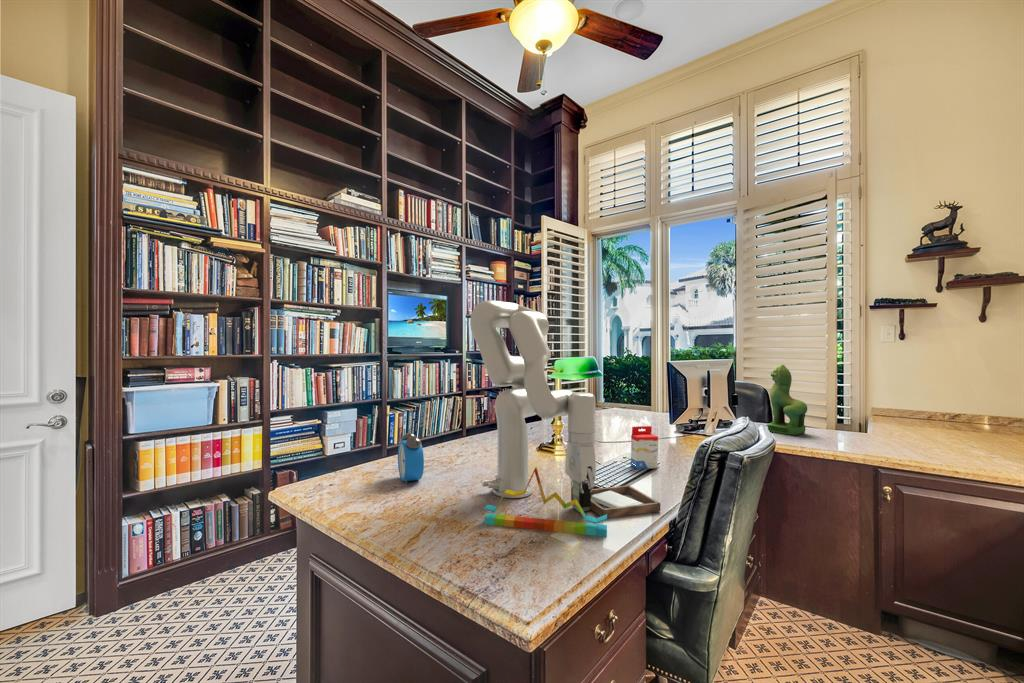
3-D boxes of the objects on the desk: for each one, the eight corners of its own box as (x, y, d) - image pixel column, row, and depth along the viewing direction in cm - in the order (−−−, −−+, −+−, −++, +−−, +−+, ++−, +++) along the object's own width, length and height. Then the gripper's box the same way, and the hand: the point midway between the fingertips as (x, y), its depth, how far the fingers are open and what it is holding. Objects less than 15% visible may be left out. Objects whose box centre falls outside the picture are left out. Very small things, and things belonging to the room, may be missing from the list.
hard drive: (591, 495, 131) (624, 508, 120) (610, 489, 135) (644, 502, 125) (591, 500, 131) (624, 514, 120) (610, 495, 135) (644, 508, 125)
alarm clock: (397, 475, 153) (397, 431, 153) (415, 473, 156) (415, 430, 156) (405, 487, 141) (405, 439, 141) (424, 484, 144) (425, 438, 144)
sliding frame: (588, 520, 116) (589, 489, 116) (563, 499, 131) (564, 472, 131) (660, 511, 123) (660, 482, 123) (628, 492, 138) (629, 466, 138)
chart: (607, 532, 111) (607, 471, 110) (606, 537, 107) (607, 475, 107) (488, 520, 117) (488, 462, 117) (484, 525, 114) (485, 466, 114)
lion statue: (775, 428, 241) (776, 363, 241) (810, 434, 228) (811, 365, 227) (763, 431, 233) (764, 364, 233) (798, 437, 220) (799, 365, 219)
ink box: (636, 469, 163) (637, 429, 163) (630, 465, 168) (630, 426, 168) (658, 468, 165) (658, 428, 165) (651, 464, 170) (651, 425, 170)
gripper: (556, 432, 131) (555, 494, 131) (583, 445, 115) (582, 516, 115) (579, 430, 133) (579, 492, 133) (608, 443, 117) (608, 513, 117)
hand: (580, 503), depth 124 cm, fingers closed on sliding frame, 4 cm apart
